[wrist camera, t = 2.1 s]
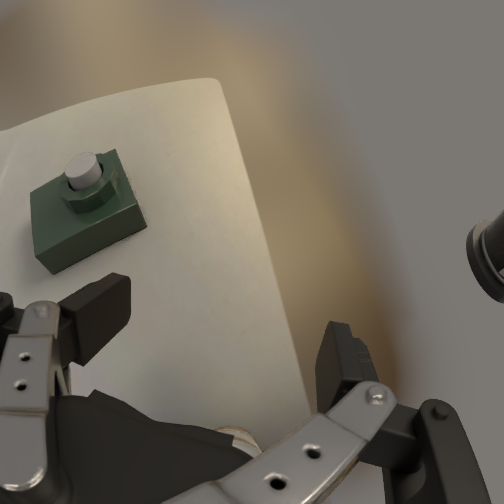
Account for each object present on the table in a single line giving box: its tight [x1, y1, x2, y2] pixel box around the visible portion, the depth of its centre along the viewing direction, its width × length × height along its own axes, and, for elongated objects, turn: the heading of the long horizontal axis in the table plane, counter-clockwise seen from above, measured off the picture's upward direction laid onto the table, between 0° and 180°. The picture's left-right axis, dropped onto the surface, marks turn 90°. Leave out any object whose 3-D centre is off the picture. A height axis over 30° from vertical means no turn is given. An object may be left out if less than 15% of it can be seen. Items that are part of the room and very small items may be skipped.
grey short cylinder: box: [65, 152, 102, 191], centre depth 25 cm, size 4×4×2 cm
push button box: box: [30, 149, 147, 275], centre depth 28 cm, size 12×10×6 cm
